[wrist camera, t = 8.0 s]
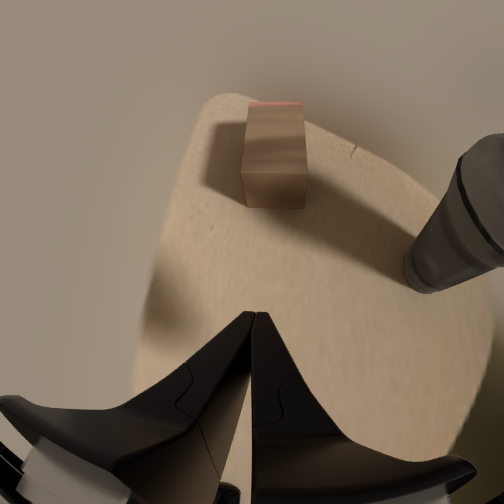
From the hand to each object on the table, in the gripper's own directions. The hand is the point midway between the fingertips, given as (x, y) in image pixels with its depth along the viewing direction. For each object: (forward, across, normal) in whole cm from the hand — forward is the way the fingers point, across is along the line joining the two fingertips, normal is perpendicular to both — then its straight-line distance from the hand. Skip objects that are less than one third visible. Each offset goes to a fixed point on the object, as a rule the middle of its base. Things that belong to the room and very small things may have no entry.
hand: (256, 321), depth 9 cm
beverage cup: (+13, -14, +4) cm, 19 cm away
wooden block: (+15, 0, -2) cm, 15 cm away
